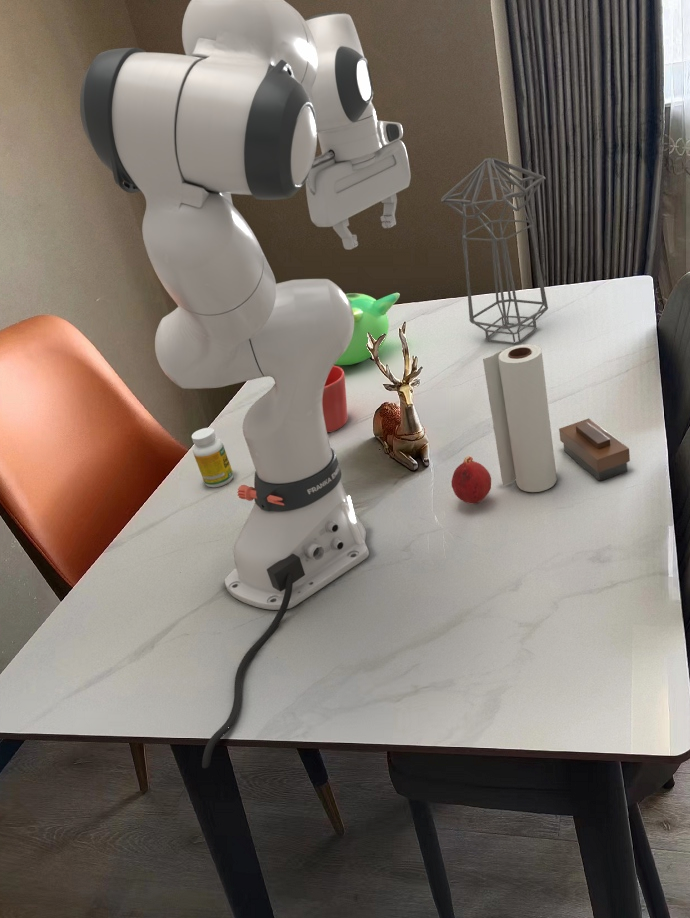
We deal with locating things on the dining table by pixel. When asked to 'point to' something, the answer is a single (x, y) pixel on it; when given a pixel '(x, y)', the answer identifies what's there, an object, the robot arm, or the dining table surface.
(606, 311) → the dining table surface
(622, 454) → the chalkboard eraser
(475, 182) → the geometric lantern
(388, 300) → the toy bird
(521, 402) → the paper towel roll
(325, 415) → the flower pot
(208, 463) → the supplement bottle
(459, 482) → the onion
